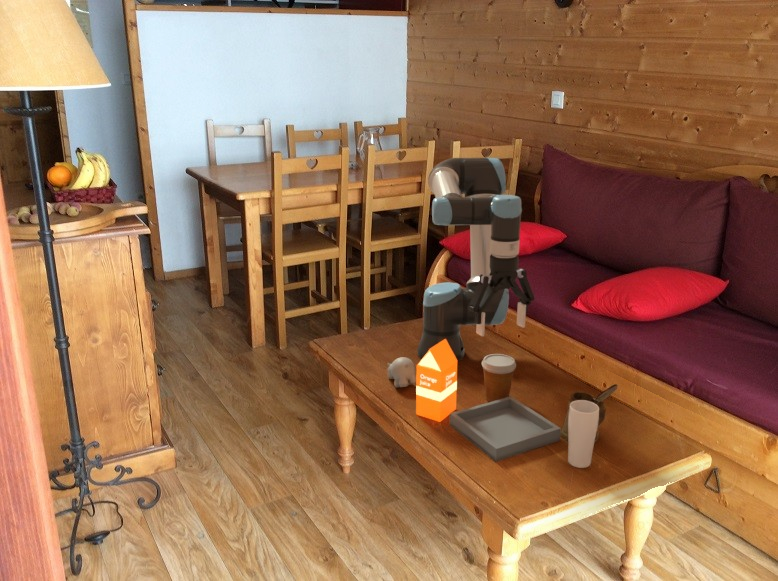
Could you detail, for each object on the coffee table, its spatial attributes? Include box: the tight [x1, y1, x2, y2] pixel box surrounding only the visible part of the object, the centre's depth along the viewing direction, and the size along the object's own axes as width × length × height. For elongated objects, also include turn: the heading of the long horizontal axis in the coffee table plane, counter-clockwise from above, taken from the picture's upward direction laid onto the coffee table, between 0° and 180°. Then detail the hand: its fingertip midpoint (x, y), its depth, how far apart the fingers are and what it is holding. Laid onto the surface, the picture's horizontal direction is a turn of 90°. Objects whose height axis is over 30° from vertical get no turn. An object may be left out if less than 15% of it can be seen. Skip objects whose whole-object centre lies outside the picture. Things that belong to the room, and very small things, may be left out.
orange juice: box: [415, 339, 458, 423], centre depth 187 cm, size 8×9×20 cm
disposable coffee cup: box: [481, 353, 517, 403], centre depth 196 cm, size 10×10×12 cm
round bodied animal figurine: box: [386, 356, 416, 388], centre depth 206 cm, size 7×12×8 cm, turn 29°
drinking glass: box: [567, 400, 599, 469], centre depth 164 cm, size 7×7×15 cm
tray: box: [449, 395, 562, 463], centre depth 179 cm, size 20×20×4 cm
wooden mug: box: [560, 384, 618, 443], centre depth 173 cm, size 9×14×18 cm, turn 37°
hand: (500, 330), depth 190 cm, fingers open, 13 cm apart
